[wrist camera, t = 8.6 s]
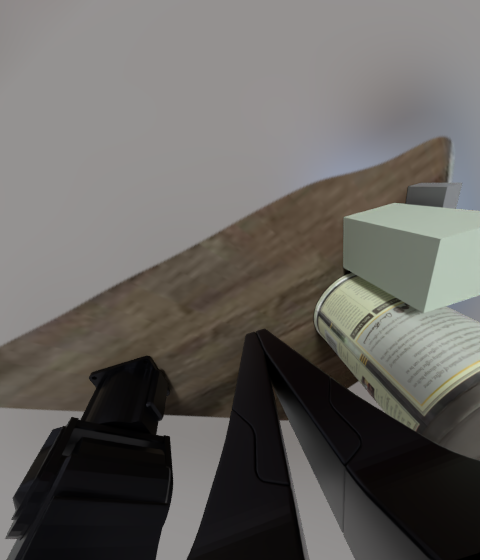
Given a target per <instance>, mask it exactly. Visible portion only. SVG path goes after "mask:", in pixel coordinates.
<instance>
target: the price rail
mask: <svg viewBox="0 0 480 560" xmlns="http://www.w3.org/2000/svg"><path fill="white" fill-rule="evenodd" d="M461 186H462V183H419V184H416V185H412V186H408V192H407V199H406V204H410V205H420V206H431V207H441V208H452V209H456V206H457V202H458V198H459V194H460V190H461Z"/></svg>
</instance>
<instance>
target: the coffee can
mask: <svg viewBox="0 0 480 560" xmlns="http://www.w3.org/2000/svg"><path fill="white" fill-rule="evenodd" d="M314 324H315V327H316V330H317V331H318V333H319V334H320V335H321V336H322V337H323V338H324V339H325V340H326V342H327V343H328V344H329V345H330V346H331V348H332V349H333V350H334V351H335V353H336V354H337V355H338V356H339V357H340V359H341V360H342V361H343V362H344V363H345V365H346V366H347V367H348V368H349V369H350V371H351V372H352V373H353V374H354V375H355V377H356V378H357V379H358V380H359V381H360V383H361V384H362V385H363V386H364V387H365V389H366V390H367V391H368V392H369V394H370V395H371V396H372V397H373V398H374V400H375V401H376V402H377V403H378V405H379V406H380V407H381V408H382V409H383V410H384V411H385V413H386V414H388V415H389V416H391V417H393V418H394V419H396V420H398V421H399V422H401V423H403V424H404V425H406V426H408V427H409V428H411V429H413V430H414V431H416V432H418V433H419V434H421V435H423V436H424V437H426V438H428V439H430V440H431V441H433V442H435V443H437V444H439V445H441V446H443V447H445V448H447V449H449V450H452V451H454V452H456V453H459V454H461V455H464V456H467V457H470V458H473V459H477V460H480V323H479V322H477V321H475V320H473V319H471V318H469V317H467V316H465V315H463V314H460V313H459V312H457V311H455V310H452V309H450V308H448V307H446V306H444V307H441V308H438V309H435V310H432V311H429V312H426V313H422V312H420V311H419V310H417V309H415V308H413V307H412V306H410V305H408V304H406V303H405V302H403V301H401V300H399V299H398V298H396V297H394V296H392V295H391V294H389V293H387V292H385V291H384V290H382V289H380V288H378V287H377V286H375V285H373V284H371V283H370V282H368V281H366V280H364V279H363V278H361V277H359V276H357V275H356V274H354V273H350V274H347V275H345V276H343V277H341V278H340V279H338V280H337V281H335V282H334V283H333V284H332V285H331V286H330V287H329V288H328V289H327V290H326V291H325V292H324V293H323V295H322V296H321V298H320V300H319V301H318V303H317V305H316V309H315V312H314Z"/></svg>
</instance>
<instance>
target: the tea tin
mask: <svg viewBox="0 0 480 560" xmlns="http://www.w3.org/2000/svg"><path fill="white" fill-rule="evenodd" d="M343 268H345V269H347V270H349V271H350V272H352V273H354V274H356V275H357V276H359V277H361V278H363V279H364V280H366V281H368V282H370V283H371V284H373V285H375V286H377V287H378V288H380V289H382V290H384V291H385V292H387V293H389V294H391V295H392V296H394V297H396V298H398V299H399V300H401V301H403V302H405V303H406V304H408V305H410V306H412V307H413V308H415V309H417V310H419V311H420V312H422V313H426V312H429V311H432V310H435V309H438V308H441V307H444V306H447V305H451V304H454V303H457V302H460V301H463V300H466V299H469V298H472V297H475V296H479V295H480V211H473V210H462V209H452V208H441V207H431V206H420V205H410V204H399V203H393V204H389V205H386V206H382V207H379V208H375V209H371V210H368V211H364V212H361V213H357V214H353V215H350V216H346V217H344V236H343Z"/></svg>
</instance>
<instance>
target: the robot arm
mask: <svg viewBox="0 0 480 560" xmlns="http://www.w3.org/2000/svg"><path fill="white" fill-rule="evenodd" d="M89 379H90V381H91V382H92V383H93V384H94V385H95V387H96V390H95V392H94V394H93V396H92V398H91V400H90V402H89V404H88V406H87V408H86V410H85V412H84V414H83V416H82V418H81V420H78V418H74V417H71V419H70V421H69V422H68V424H67V425H66V426H63V427H60V428H56V429H53V430H52V432H51V433H50V435H49V437H48V439H47V440H46V442H45V444H44V445H43V447H42V449H41V450H40V452H39V454H38V456H37V457H36V459H35V460H34V462H33V464H32V466H31V467H30V469H29V471H28V473H27V474H26V476H25V478H24V480H23V481H22V483H21V485H20V487H19V488H18V490H17V492H16V493H15V495H14V497H13V501H14V506H15V510H16V511H15V513H14V515H13V517H12V520H14V521H13V523H12V525H11V527H10V529H9V531H8V533H7V536H6V539H17V541H16V543H15V545H14V546H13V548H12V550H11V552H10V554H9V556H8V558H7V560H156V554H157V549H158V544H159V539H160V535H161V531H162V527H163V525H164V523H165V520H166V518H167V514H168V511H169V507H170V503H171V498H172V491H173V473H172V459H171V445H170V437H169V436H165V435H164V436H159V435H156V432H157V426H158V421H160V420H162V418H163V416H164V409H165V402H166V396H168V395H169V394H170V389H169V388H168V383H167V382H166V380H165V378H164V377H163V375H162V373H161V372H160V371H159V370H158V369H157V367H156V366H155V364H154V362H153V361H152V359H151V358H150V357H149V356H144V357H141V358H137V359H134V360H131V361H128V362H124V363H121V364H118V365H115V366H111V367H108V368H105V369H101V370H98V371H95V372H92V373H91V375H90V376H89ZM271 383H272V384H271ZM272 386H273V388H274V390H275V392H276V394H277V396H278V399H279V401H280V403H281V405H282V407H283V409H284V411H285V413H286V415H287V417H288V420H289V422H290V423H291V426H292V428H293V430H294V432H295V434H296V436H297V438H298V440H299V442H300V445H301V446H302V449H303V451H304V453H305V455H306V457H307V459H308V461H309V464H310V465H311V468H312V470H313V472H314V474H315V476H316V478H317V480H318V482H319V484H320V487H321V489H322V491H323V493H324V495H325V497H326V499H327V501H328V503H329V505H330V508H331V510H332V512H333V514H334V516H335V518H336V520H337V522H338V524H339V526H340V529H341V531H342V532H343V533H344V537H345V539H346V541H347V543H348V545H349V547H350V550H351V552H352V554H353V556H354V558H355V560H480V460H477V459H473V458H470V457H467V456H464V455H461V454H459V453H456V452H454V451H452V450H449V449H447V448H445V447H443V446H441V445H439V444H437V443H435V442H433V441H431V440H430V439H428V438H426V437H424V436H423V435H421V434H419V433H418V432H416V431H414V430H413V429H411V428H409V427H408V426H406V425H404V424H403V423H401V422H399V421H398V420H396V419H394V418H393V417H391V416H389V415H388V414H386V413H384V412H383V411H381V410H379V409H377V408H376V407H374V406H373V405H371V404H370V403H368V402H366V401H365V400H363V399H362V398H360V397H358V396H357V395H355V394H354V393H352V392H351V391H349V390H348V389H347V388H345V387H344V386H342V385H341V384H340V383H338V382H337V381H336V380H334V379H333V378H330V376H329V375H327V374H326V373H325V372H323V371H322V370H321V369H319V368H318V367H317V366H315V365H314V364H312V363H311V362H310V361H308V360H307V359H306V358H304V357H303V356H302V355H300V354H299V353H297V352H296V351H295V350H293V349H292V348H291V347H289V346H288V345H287V344H285V343H284V342H282V341H281V340H280V339H278V338H277V337H276V336H274V335H273V334H272V333H270V332H269V331H268V330H266V329H262V330H258V331H256V333H255V332H252V333H249V334H246V336H245V342H244V347H243V352H242V358H241V363H240V368H239V374H238V379H237V384H236V390H235V395H234V400H233V406H232V411H231V416H230V421H229V426H228V431H227V435H226V440H225V443H224V447H223V451H222V454H221V458H220V462H219V465H218V468H217V471H216V475H215V478H214V481H213V485H212V488H211V491H210V494H209V498H208V501H207V504H206V508H205V512H204V514H203V518H202V521H201V524H200V527H199V530H198V533H197V536H196V538H195V541H194V543H193V546H192V548H191V551H190V553H189V556H188V558H187V560H309V556H308V551H307V547H306V543H305V538H304V533H303V528H302V523H301V519H300V514H299V509H298V505H297V500H296V495H295V491H294V486H293V481H292V477H291V472H290V467H289V463H288V458H287V453H286V449H285V444H284V439H283V435H282V430H281V426H280V421H279V416H278V411H277V407H276V402H275V397H274V393H273V388H272Z"/></svg>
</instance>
